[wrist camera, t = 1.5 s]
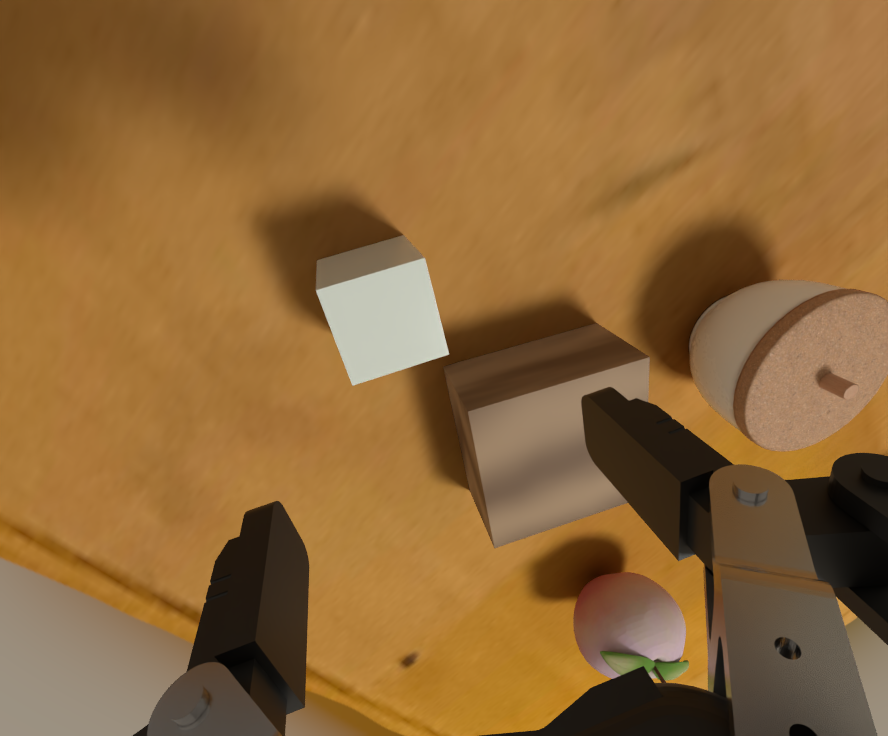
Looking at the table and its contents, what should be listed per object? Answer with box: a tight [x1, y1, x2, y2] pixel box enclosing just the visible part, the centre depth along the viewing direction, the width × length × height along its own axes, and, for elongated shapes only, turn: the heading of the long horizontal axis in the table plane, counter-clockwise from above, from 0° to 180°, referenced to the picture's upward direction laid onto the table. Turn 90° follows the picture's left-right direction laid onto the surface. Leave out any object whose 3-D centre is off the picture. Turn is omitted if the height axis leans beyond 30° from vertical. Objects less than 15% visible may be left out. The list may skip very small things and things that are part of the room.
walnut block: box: [443, 323, 650, 548], centre depth 31 cm, size 11×11×6 cm
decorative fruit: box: [573, 572, 689, 683], centre depth 39 cm, size 9×8×10 cm
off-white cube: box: [316, 235, 449, 386], centre depth 24 cm, size 5×5×6 cm
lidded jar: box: [689, 280, 888, 451], centre depth 30 cm, size 11×11×9 cm
